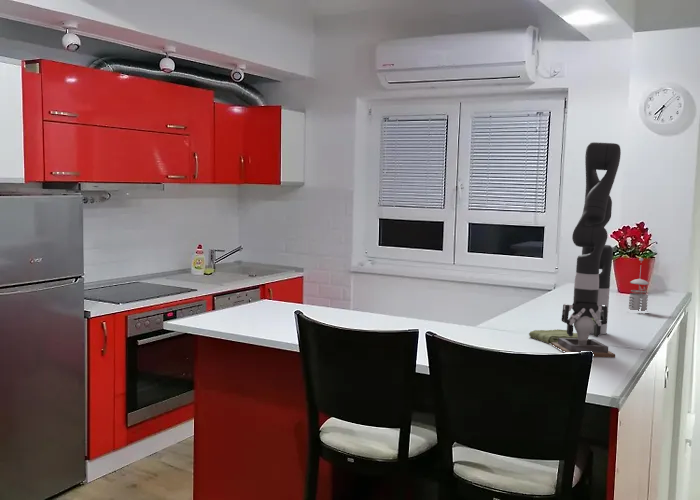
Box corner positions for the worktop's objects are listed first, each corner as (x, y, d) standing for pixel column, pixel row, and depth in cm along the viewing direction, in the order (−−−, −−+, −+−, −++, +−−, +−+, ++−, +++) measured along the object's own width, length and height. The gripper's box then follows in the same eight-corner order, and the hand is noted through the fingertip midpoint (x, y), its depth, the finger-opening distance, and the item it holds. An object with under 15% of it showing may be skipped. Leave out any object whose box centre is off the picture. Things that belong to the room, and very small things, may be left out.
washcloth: (591, 343, 242) (591, 334, 241) (549, 345, 235) (549, 336, 235) (566, 336, 254) (567, 327, 254) (526, 337, 247) (526, 328, 247)
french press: (645, 311, 322) (649, 257, 320) (653, 315, 310) (657, 259, 308) (623, 309, 323) (627, 256, 321) (630, 313, 311) (634, 258, 309)
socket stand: (551, 345, 234) (551, 336, 234) (594, 346, 235) (595, 337, 234) (568, 356, 218) (569, 346, 218) (615, 357, 219) (615, 348, 218)
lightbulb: (571, 348, 224) (573, 315, 224) (572, 345, 230) (574, 312, 229) (591, 351, 222) (593, 317, 221) (592, 347, 228) (594, 314, 227)
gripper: (603, 286, 229) (599, 334, 230) (560, 284, 228) (557, 333, 229) (612, 289, 221) (609, 339, 223) (569, 287, 220) (566, 338, 222)
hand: (583, 336), depth 226 cm, fingers open, 8 cm apart
